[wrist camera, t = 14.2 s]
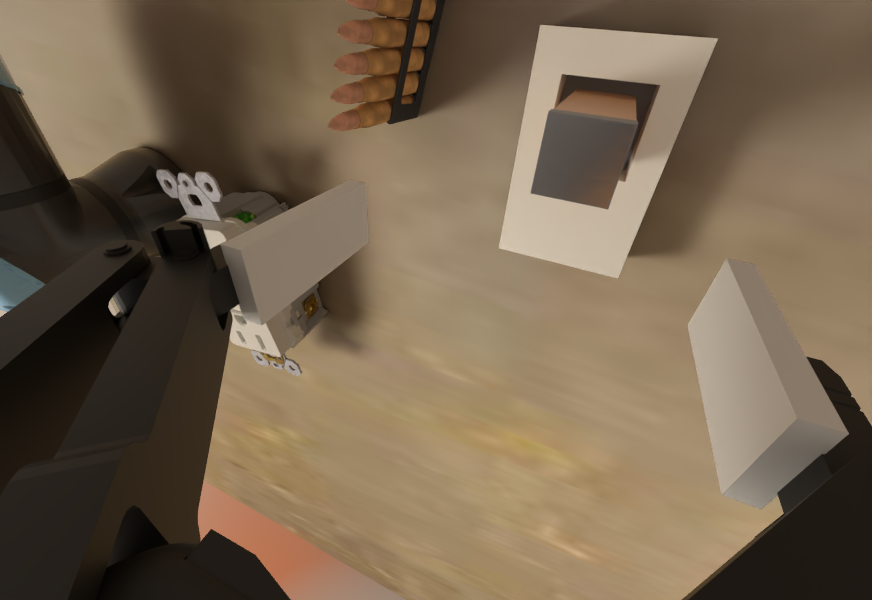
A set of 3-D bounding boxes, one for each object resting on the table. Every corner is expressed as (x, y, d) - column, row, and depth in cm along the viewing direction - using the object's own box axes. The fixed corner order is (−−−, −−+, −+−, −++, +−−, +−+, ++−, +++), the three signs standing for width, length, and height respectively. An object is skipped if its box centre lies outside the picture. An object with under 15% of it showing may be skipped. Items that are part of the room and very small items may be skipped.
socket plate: (510, 230, 36) (498, 248, 33) (550, 26, 27) (540, 24, 24) (619, 257, 34) (617, 278, 31) (707, 38, 24) (718, 38, 21)
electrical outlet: (283, 147, 41) (208, 179, 34) (345, 340, 58) (304, 388, 51) (208, 146, 46) (128, 174, 38) (286, 326, 62) (240, 368, 55)
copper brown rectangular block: (561, 146, 30) (530, 193, 21) (576, 87, 27) (548, 111, 18) (616, 155, 29) (608, 209, 20) (636, 95, 26) (638, 124, 17)
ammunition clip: (430, -42, 28) (331, -81, 19) (453, -33, 28) (363, -68, 18) (399, 110, 35) (315, 134, 26) (416, 118, 34) (338, 146, 25)
